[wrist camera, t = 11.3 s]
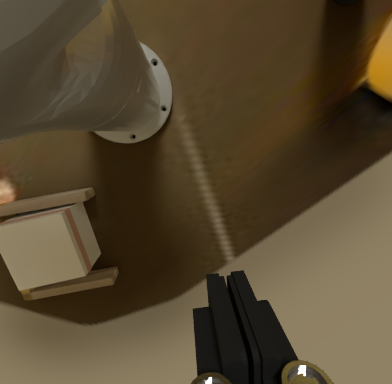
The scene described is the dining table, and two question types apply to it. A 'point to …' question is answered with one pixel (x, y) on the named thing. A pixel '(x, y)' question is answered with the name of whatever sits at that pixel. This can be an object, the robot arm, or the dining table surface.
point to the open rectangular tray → (78, 284)
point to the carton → (48, 245)
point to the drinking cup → (345, 1)
